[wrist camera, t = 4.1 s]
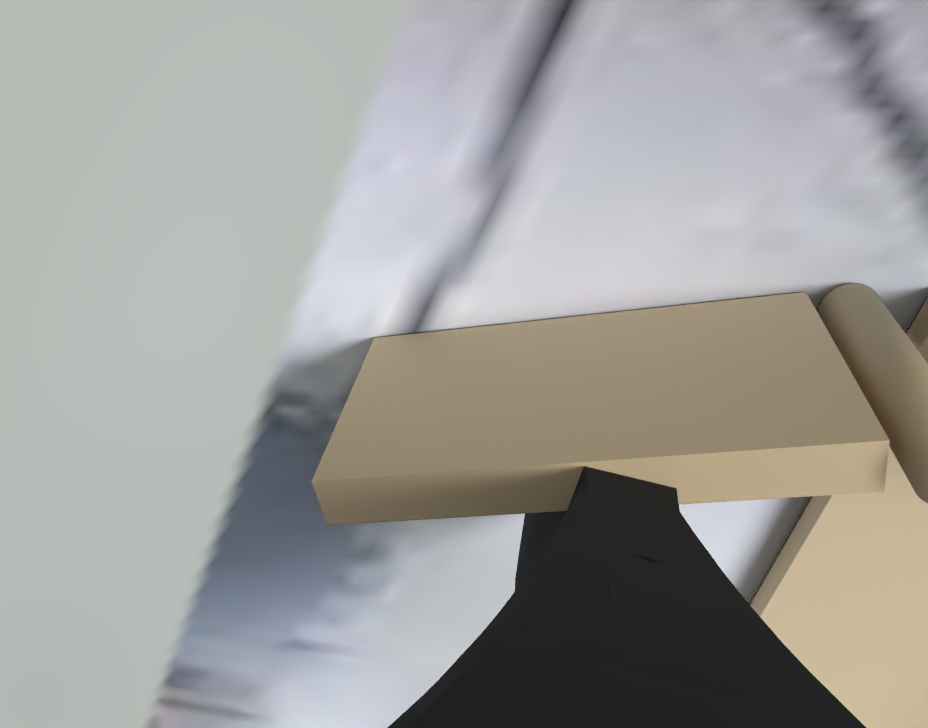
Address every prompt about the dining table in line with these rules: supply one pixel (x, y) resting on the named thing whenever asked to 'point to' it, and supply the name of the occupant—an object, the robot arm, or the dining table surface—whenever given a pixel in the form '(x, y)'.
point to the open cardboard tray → (860, 594)
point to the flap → (632, 409)
